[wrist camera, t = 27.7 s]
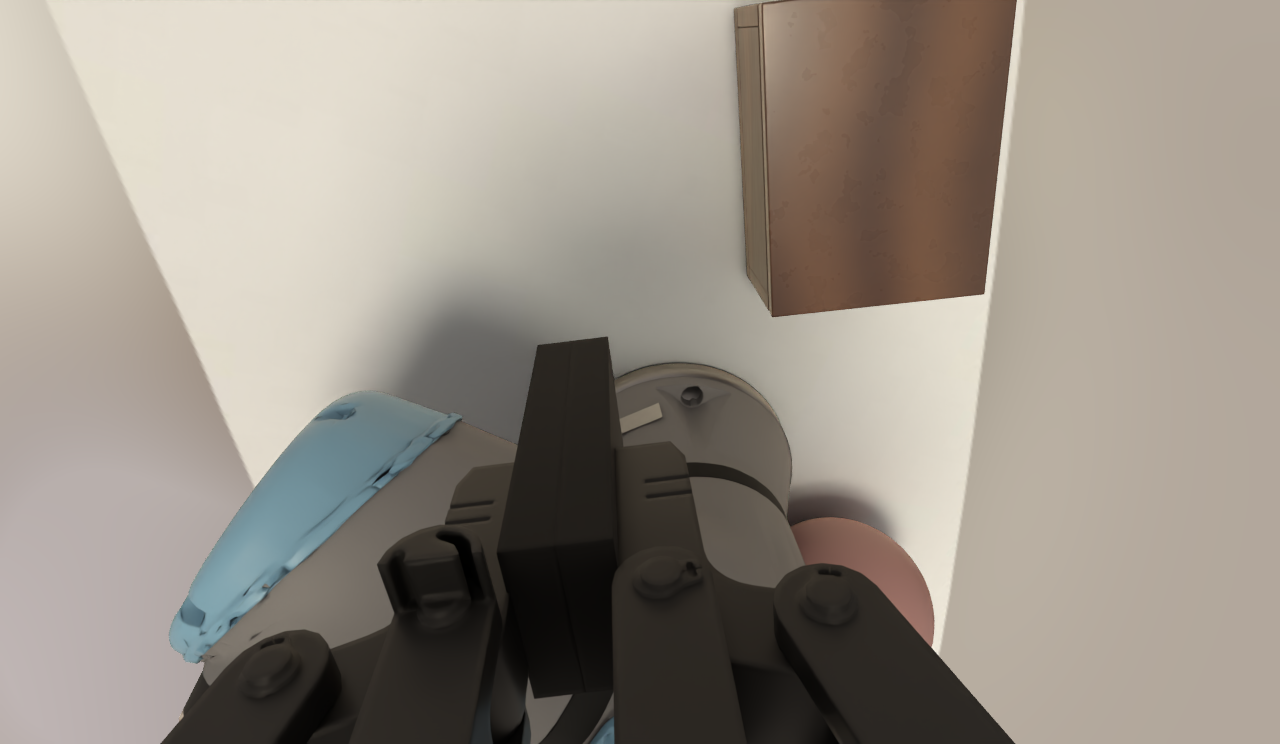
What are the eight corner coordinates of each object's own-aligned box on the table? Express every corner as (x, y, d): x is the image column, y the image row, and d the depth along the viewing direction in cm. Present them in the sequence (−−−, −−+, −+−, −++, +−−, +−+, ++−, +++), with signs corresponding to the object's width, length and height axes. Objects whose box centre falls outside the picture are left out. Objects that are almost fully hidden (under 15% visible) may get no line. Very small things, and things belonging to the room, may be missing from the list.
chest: (925, -17, 35) (982, -26, 30) (909, 255, 42) (954, 287, 36) (733, 8, 35) (757, 3, 30) (746, 275, 42) (768, 311, 36)
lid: (1010, -29, 29) (1021, -31, 29) (977, 288, 36) (985, 294, 35) (758, 3, 30) (761, 2, 29) (769, 311, 36) (772, 317, 35)
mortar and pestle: (942, 493, 43) (921, 577, 52) (750, 473, 47) (759, 555, 55) (951, 689, 36) (924, 751, 44) (721, 649, 39) (737, 713, 48)
